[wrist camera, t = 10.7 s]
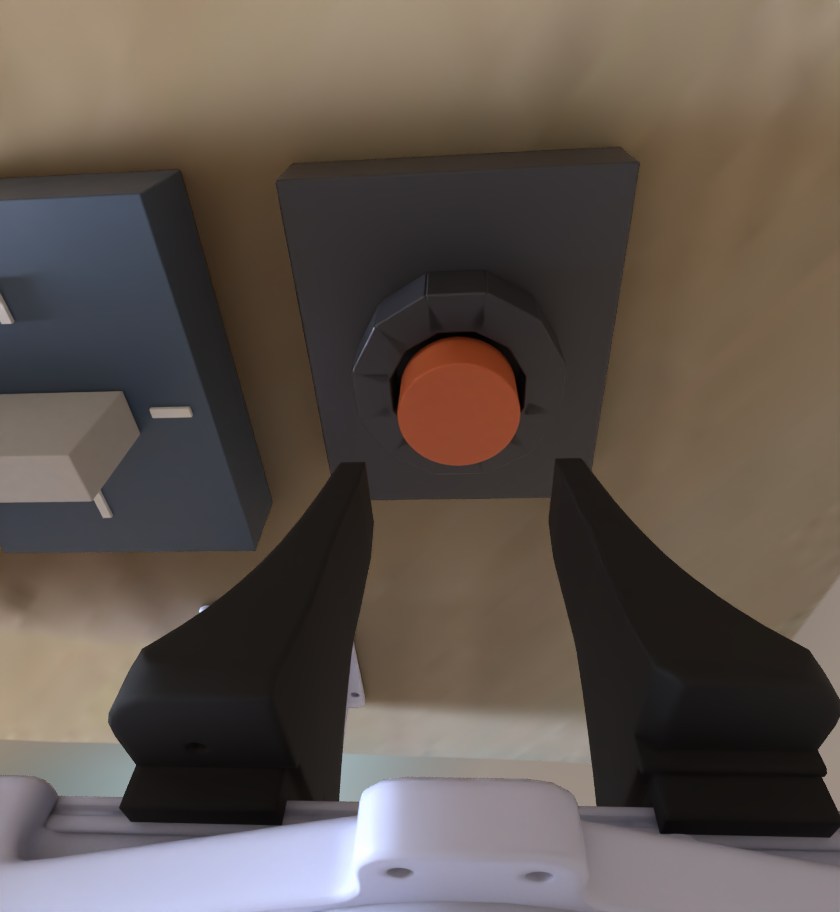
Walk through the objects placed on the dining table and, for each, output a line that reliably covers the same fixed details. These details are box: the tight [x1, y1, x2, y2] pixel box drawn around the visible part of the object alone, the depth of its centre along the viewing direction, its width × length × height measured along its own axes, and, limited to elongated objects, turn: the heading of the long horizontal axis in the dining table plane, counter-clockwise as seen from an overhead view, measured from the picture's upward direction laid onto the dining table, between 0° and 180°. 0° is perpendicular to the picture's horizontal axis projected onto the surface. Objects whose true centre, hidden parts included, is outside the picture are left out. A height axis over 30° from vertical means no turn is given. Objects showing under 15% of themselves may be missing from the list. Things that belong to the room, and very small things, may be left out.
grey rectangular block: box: [0, 391, 140, 503], centre depth 19 cm, size 6×2×4 cm, turn 93°
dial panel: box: [0, 169, 272, 553], centre depth 22 cm, size 14×11×3 cm
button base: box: [275, 147, 640, 500], centre depth 20 cm, size 12×10×4 cm
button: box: [397, 336, 520, 466], centre depth 18 cm, size 4×4×2 cm
